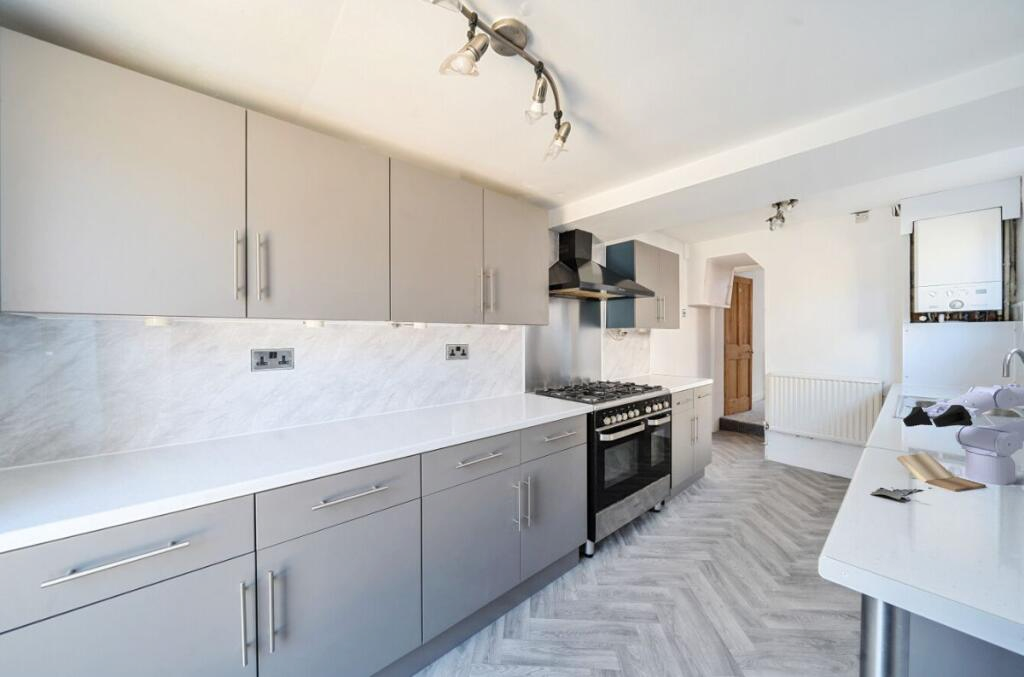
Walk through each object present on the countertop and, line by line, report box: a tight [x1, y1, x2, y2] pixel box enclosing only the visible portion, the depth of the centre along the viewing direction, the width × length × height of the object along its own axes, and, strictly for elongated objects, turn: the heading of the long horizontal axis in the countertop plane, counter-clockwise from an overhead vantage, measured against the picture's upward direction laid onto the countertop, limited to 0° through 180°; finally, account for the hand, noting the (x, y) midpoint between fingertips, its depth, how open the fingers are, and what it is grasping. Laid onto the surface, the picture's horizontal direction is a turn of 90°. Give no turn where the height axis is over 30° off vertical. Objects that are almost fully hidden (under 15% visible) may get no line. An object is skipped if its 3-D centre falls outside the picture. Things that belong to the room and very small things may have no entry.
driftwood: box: [870, 477, 932, 500], centre depth 100 cm, size 21×7×2 cm, turn 108°
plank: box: [896, 452, 956, 483], centre depth 107 cm, size 11×8×2 cm
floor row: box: [927, 476, 987, 493], centre depth 106 cm, size 11×16×2 cm
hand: (920, 423), depth 102 cm, fingers open, 7 cm apart
